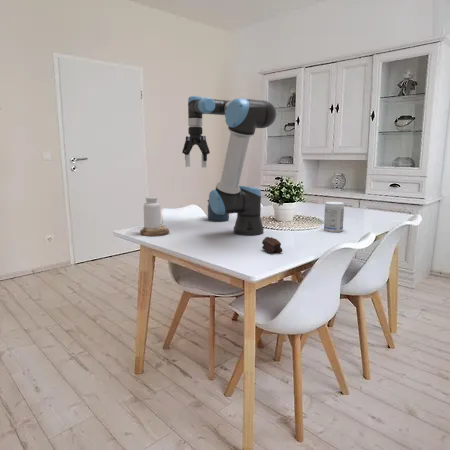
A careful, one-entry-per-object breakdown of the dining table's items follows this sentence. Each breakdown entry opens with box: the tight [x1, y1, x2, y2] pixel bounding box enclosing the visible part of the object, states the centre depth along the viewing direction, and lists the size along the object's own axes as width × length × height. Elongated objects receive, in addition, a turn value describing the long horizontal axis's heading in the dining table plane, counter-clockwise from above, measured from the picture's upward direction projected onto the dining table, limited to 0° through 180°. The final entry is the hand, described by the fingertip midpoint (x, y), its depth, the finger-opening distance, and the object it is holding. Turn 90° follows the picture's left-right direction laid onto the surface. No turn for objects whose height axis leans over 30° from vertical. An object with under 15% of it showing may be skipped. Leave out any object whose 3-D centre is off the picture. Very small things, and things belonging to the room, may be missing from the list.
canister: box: [207, 198, 230, 223], centre depth 220 cm, size 13×13×18 cm
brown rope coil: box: [139, 225, 170, 237], centre depth 183 cm, size 14×14×3 cm
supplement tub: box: [323, 201, 345, 233], centre depth 192 cm, size 10×10×15 cm
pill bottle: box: [143, 196, 162, 229], centre depth 181 cm, size 8×8×15 cm
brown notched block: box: [261, 236, 283, 255], centre depth 151 cm, size 6×7×10 cm
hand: (195, 167), depth 203 cm, fingers open, 13 cm apart
